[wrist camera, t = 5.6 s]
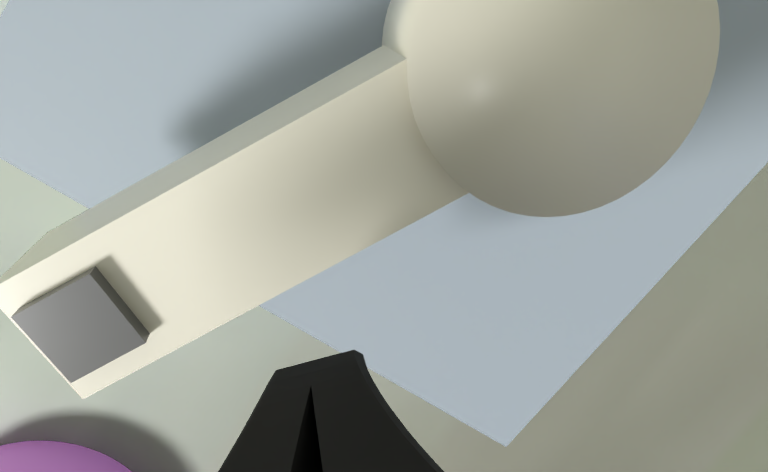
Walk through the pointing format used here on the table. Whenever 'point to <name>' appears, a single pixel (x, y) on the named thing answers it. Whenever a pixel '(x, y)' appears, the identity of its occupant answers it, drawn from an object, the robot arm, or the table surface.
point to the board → (412, 243)
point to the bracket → (55, 458)
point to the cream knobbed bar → (371, 167)
